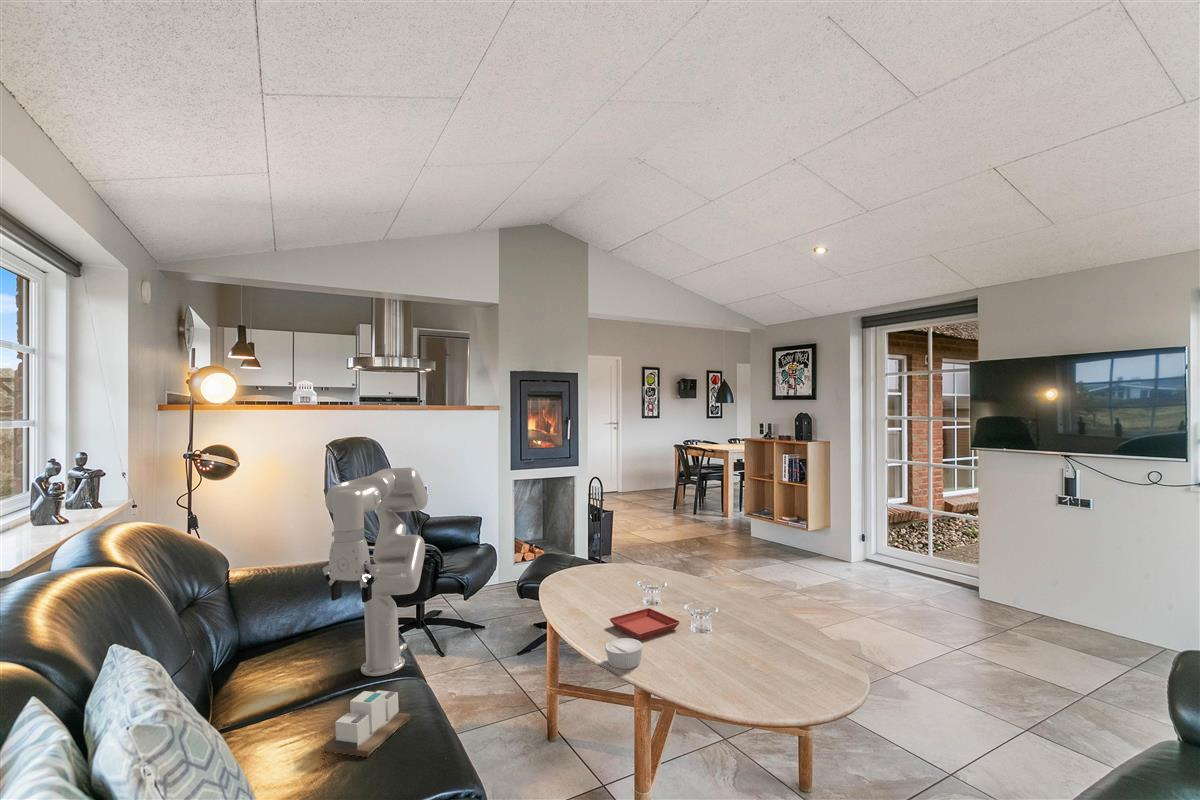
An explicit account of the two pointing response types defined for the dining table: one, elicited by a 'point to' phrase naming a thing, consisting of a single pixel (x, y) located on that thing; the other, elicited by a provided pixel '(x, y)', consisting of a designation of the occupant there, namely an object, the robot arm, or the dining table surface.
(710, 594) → the dining table surface
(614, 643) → the ramekin
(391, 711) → the mounted modules
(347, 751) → the board
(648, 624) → the plant saucer
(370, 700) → the block
